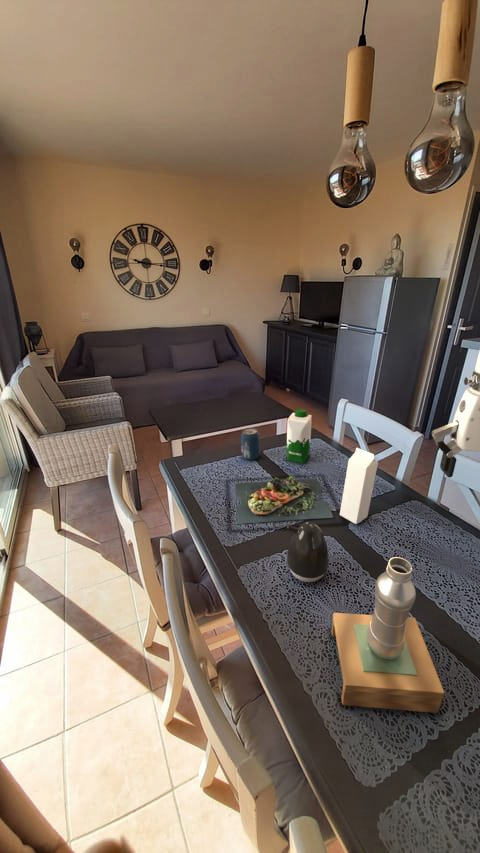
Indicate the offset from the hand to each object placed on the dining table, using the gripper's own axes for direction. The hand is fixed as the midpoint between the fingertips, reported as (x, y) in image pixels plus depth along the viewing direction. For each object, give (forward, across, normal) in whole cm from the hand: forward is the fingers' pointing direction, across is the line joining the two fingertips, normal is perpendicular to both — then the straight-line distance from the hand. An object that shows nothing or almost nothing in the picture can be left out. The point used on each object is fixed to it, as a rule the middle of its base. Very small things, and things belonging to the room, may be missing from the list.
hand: (474, 474), depth 66 cm
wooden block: (+35, -16, -14) cm, 41 cm away
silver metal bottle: (+29, -16, -14) cm, 36 cm away
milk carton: (+36, -27, +68) cm, 81 cm away
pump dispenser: (+36, -28, +9) cm, 46 cm away
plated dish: (+36, -34, +39) cm, 63 cm away
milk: (+35, -12, +32) cm, 49 cm away
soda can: (+36, -46, +68) cm, 89 cm away
